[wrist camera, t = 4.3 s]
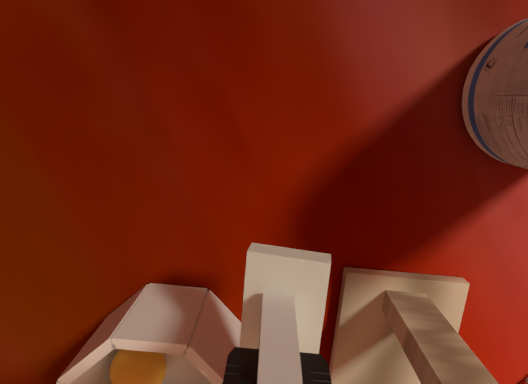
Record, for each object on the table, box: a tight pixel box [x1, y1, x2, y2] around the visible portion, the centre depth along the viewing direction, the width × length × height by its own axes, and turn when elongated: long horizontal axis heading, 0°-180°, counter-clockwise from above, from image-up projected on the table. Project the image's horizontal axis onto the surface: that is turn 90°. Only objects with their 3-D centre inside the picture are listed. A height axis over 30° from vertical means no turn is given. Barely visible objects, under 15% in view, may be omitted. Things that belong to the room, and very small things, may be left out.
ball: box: [110, 349, 166, 384], centre depth 28 cm, size 4×4×4 cm
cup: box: [56, 283, 241, 384], centre depth 27 cm, size 11×11×7 cm
